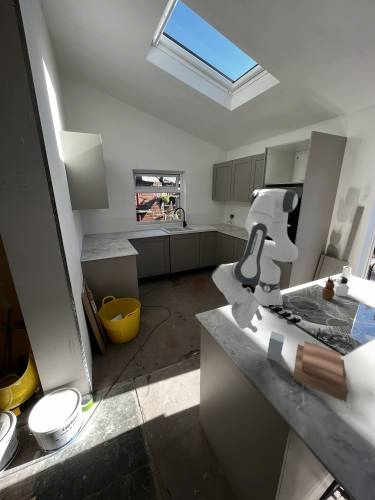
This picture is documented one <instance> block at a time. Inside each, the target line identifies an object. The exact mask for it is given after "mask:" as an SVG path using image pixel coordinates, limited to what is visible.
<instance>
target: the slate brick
mask: <svg viewBox="0 0 375 500" xmlns="http://www.w3.org/2000/svg"><path fill="white" fill-rule="evenodd" d="M268 340H269V341H268V348H267V354H266V359H267V358H268V359H270V360H272V361H274V362H277V363H280V361H281V356H282V352H283V347H284V341H285V334H282V333H280V332H277V331H274V330H272V331H271V333H270V336H269V339H268Z"/></svg>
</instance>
